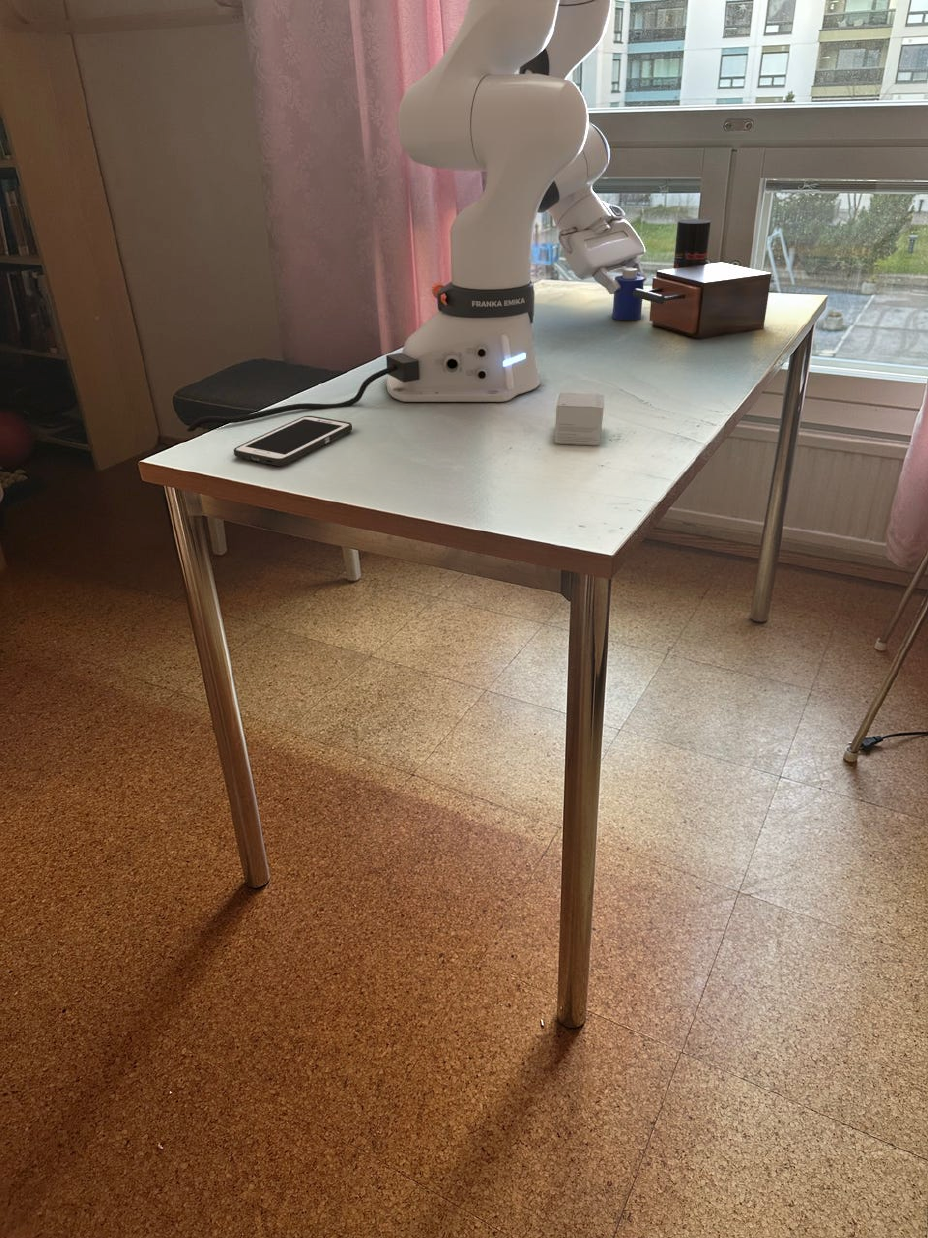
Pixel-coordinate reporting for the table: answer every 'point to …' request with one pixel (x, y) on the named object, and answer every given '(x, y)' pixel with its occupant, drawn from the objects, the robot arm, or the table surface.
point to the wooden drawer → (673, 303)
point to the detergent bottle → (628, 296)
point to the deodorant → (691, 242)
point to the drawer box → (724, 297)
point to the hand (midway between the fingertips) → (629, 287)
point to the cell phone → (292, 440)
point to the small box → (579, 418)
